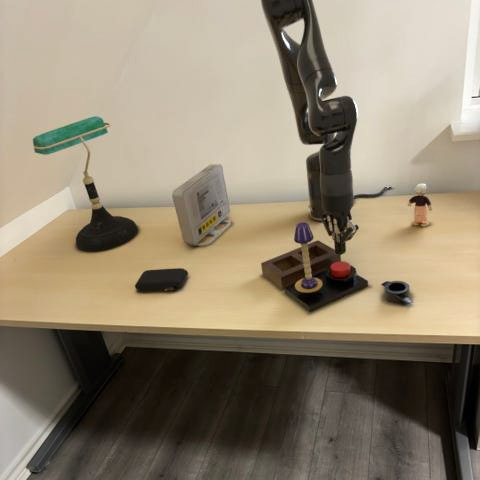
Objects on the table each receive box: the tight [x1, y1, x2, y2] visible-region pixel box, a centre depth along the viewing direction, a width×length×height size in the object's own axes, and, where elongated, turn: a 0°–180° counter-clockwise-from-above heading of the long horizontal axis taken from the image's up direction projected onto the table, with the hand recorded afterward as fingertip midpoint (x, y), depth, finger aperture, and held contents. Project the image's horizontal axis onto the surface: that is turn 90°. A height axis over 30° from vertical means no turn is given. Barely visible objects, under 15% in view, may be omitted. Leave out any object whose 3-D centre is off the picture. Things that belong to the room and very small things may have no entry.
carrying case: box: [134, 267, 189, 292], centre depth 146 cm, size 11×3×15 cm
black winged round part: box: [380, 280, 414, 304], centre depth 122 cm, size 8×10×3 cm
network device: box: [171, 163, 232, 247], centre depth 166 cm, size 26×9×20 cm, turn 152°
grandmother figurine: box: [407, 183, 433, 228], centre depth 149 cm, size 8×4×13 cm, turn 58°
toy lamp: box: [293, 221, 318, 289], centre depth 123 cm, size 5×5×17 cm
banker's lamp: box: [32, 115, 139, 253], centre depth 173 cm, size 26×23×40 cm
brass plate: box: [295, 277, 323, 293], centre depth 127 cm, size 7×7×1 cm
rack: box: [260, 240, 342, 291], centre depth 140 cm, size 11×19×4 cm, turn 117°
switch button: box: [331, 260, 351, 277], centre depth 130 cm, size 5×5×2 cm
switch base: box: [283, 264, 369, 313], centre depth 130 cm, size 18×12×4 cm, turn 117°
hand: (340, 253), depth 127 cm, fingers closed
